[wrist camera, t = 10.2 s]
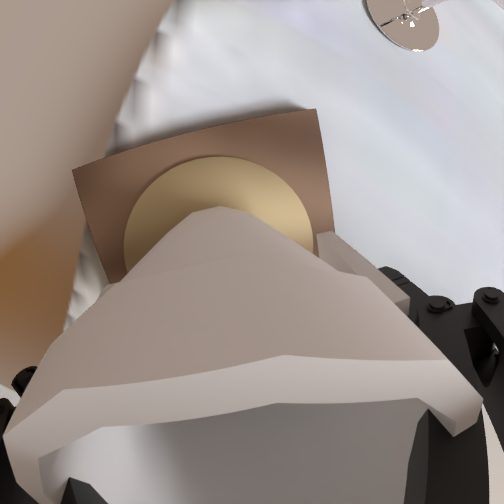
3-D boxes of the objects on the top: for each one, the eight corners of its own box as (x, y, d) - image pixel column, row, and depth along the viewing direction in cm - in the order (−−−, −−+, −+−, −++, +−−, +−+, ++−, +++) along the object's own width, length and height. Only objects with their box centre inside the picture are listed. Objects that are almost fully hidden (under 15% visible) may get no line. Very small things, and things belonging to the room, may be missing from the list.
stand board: (336, 312, 22) (343, 323, 20) (150, 356, 21) (148, 369, 20) (309, 110, 17) (317, 108, 15) (79, 167, 16) (69, 170, 14)
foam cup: (124, 321, 17) (65, 537, 5) (146, 158, 14) (-75, 263, 2) (279, 347, 19) (349, 545, 7) (330, 202, 16) (544, 350, 4)
